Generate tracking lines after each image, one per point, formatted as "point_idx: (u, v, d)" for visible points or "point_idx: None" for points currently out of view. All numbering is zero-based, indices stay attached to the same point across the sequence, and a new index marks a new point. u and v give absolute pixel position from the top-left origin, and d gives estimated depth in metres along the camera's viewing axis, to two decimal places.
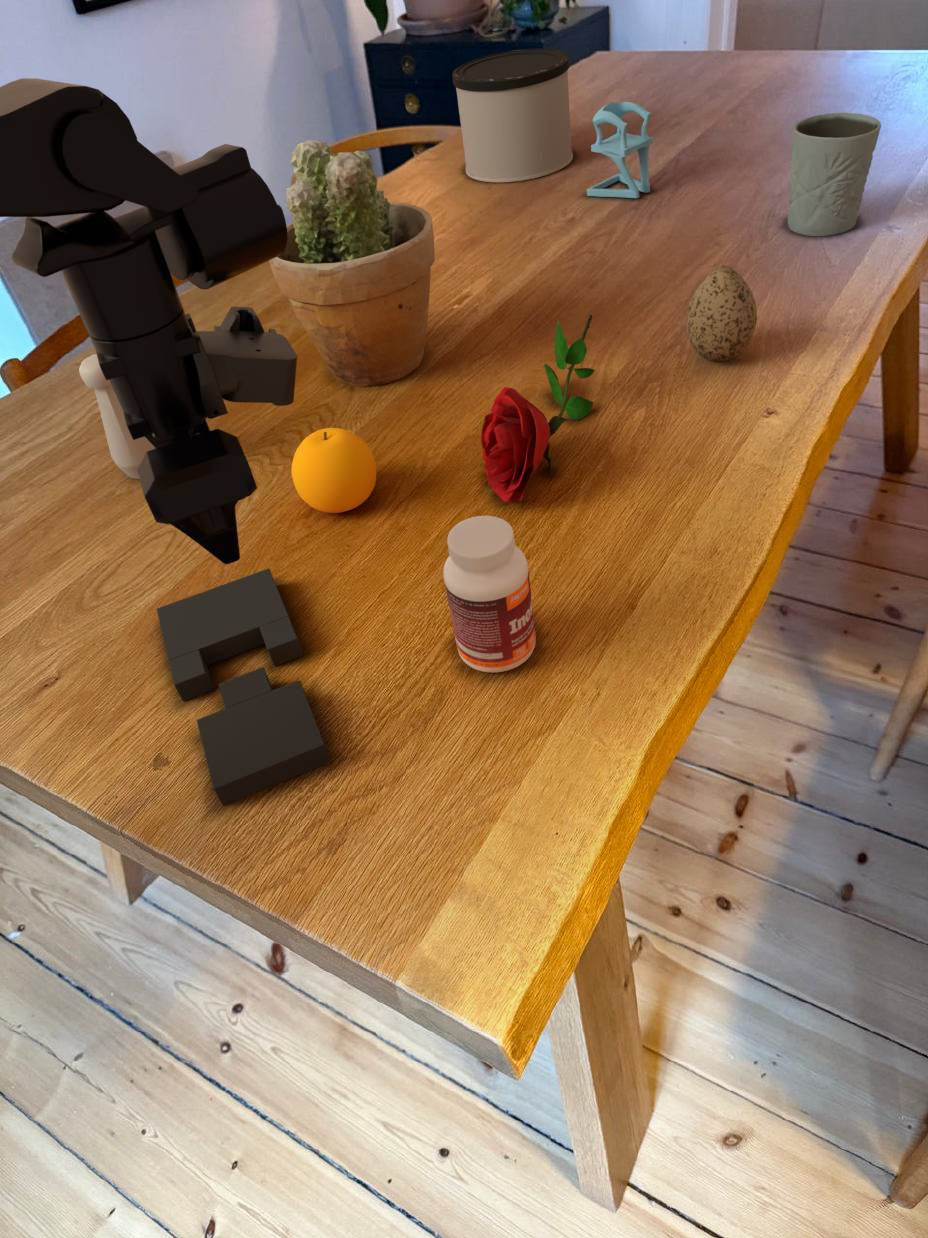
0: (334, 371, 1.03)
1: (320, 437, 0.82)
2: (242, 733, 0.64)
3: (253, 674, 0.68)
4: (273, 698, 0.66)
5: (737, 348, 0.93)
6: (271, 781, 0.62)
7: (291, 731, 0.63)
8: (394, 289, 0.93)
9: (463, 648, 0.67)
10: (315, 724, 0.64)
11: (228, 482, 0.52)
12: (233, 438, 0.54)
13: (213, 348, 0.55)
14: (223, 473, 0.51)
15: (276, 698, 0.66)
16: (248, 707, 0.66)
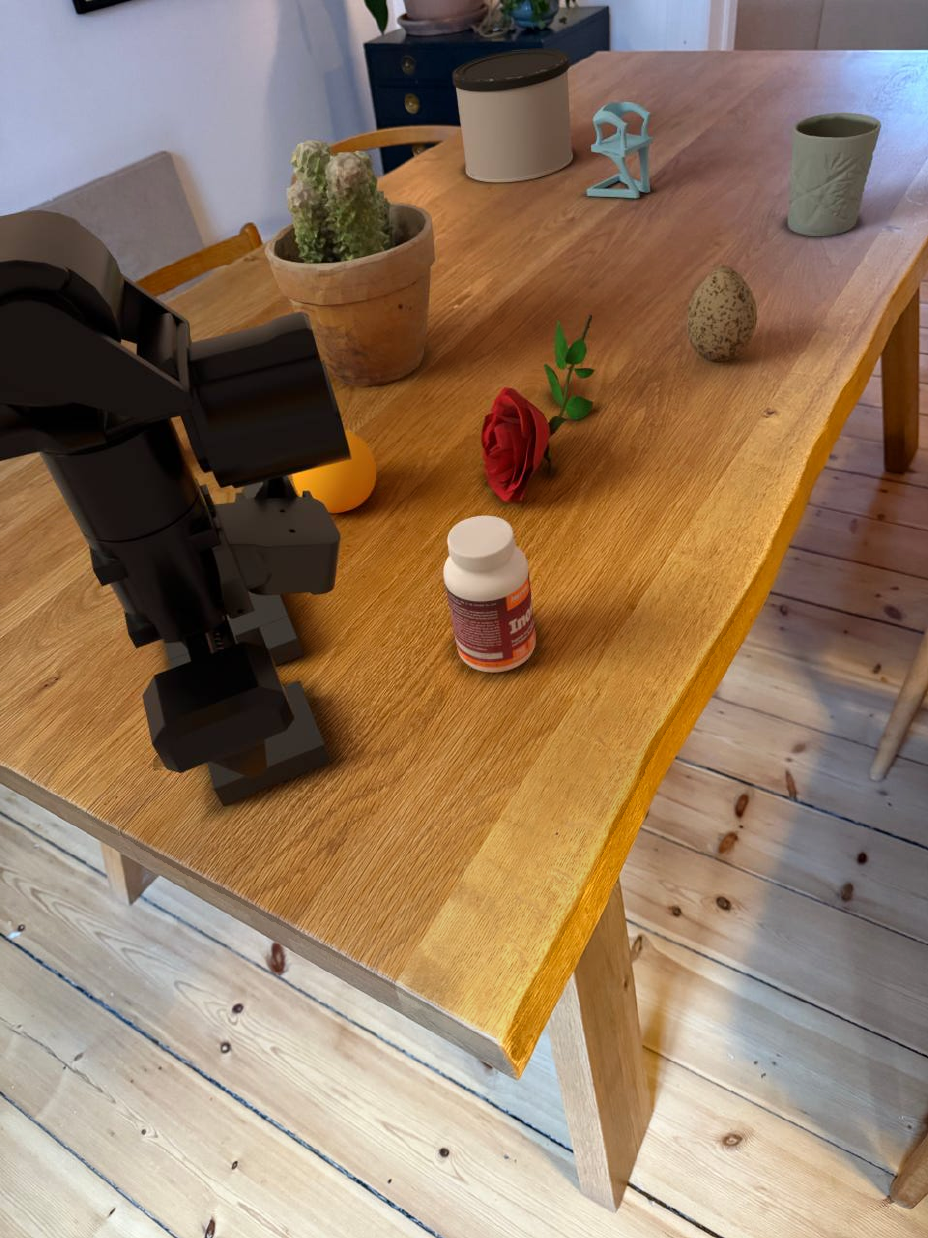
0: (334, 371, 1.03)
1: None
2: None
3: None
4: None
5: (737, 348, 0.93)
6: (271, 781, 0.62)
7: (291, 731, 0.63)
8: (394, 289, 0.93)
9: (463, 648, 0.67)
10: (315, 724, 0.64)
11: (259, 720, 0.40)
12: (263, 652, 0.43)
13: (236, 533, 0.44)
14: (253, 711, 0.40)
15: None
16: None
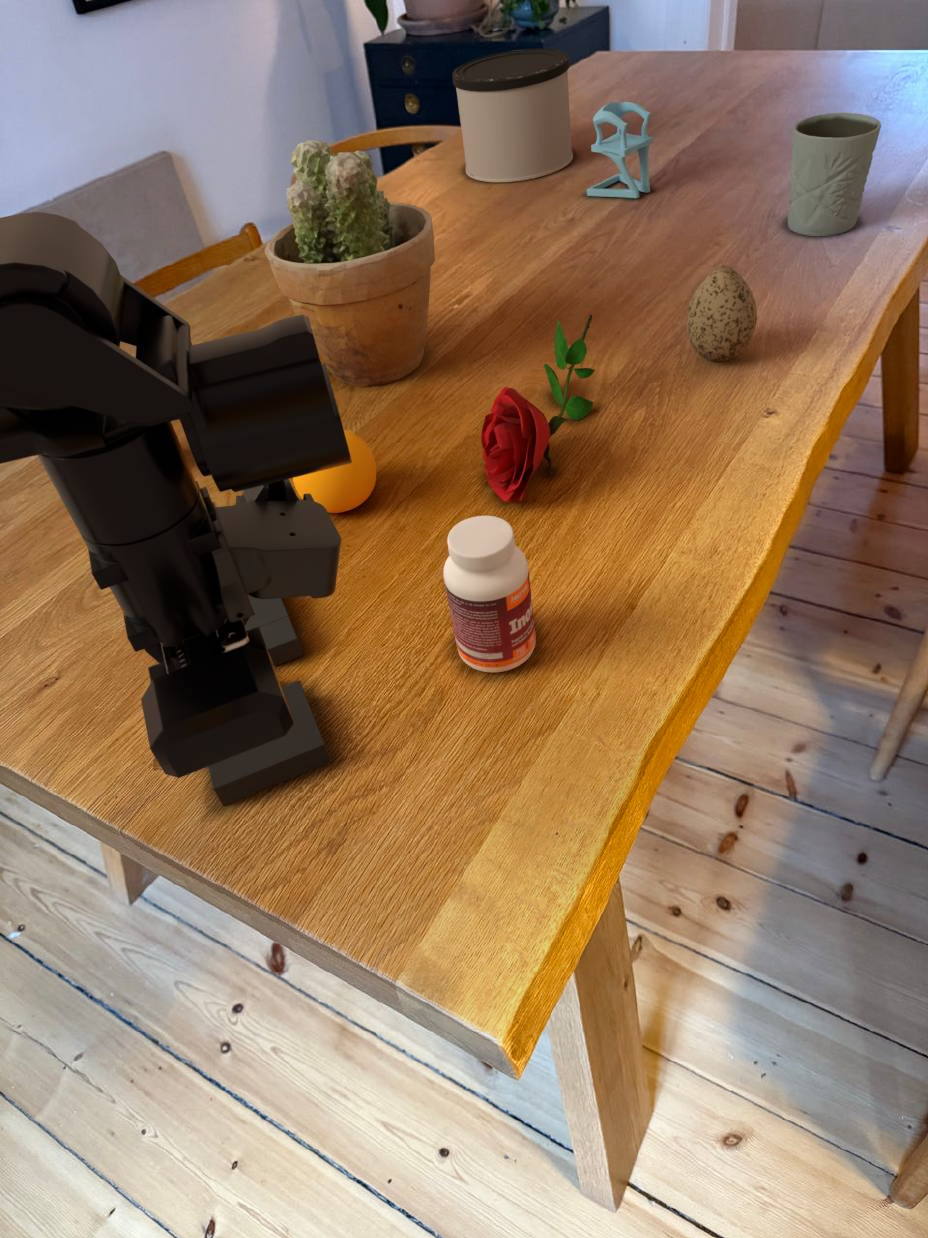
0: (334, 371, 1.03)
1: None
2: None
3: None
4: None
5: (737, 348, 0.93)
6: (271, 781, 0.62)
7: (291, 731, 0.63)
8: (394, 289, 0.93)
9: (463, 648, 0.67)
10: (315, 724, 0.64)
11: (258, 725, 0.40)
12: (263, 657, 0.42)
13: (236, 537, 0.44)
14: (252, 716, 0.40)
15: None
16: None
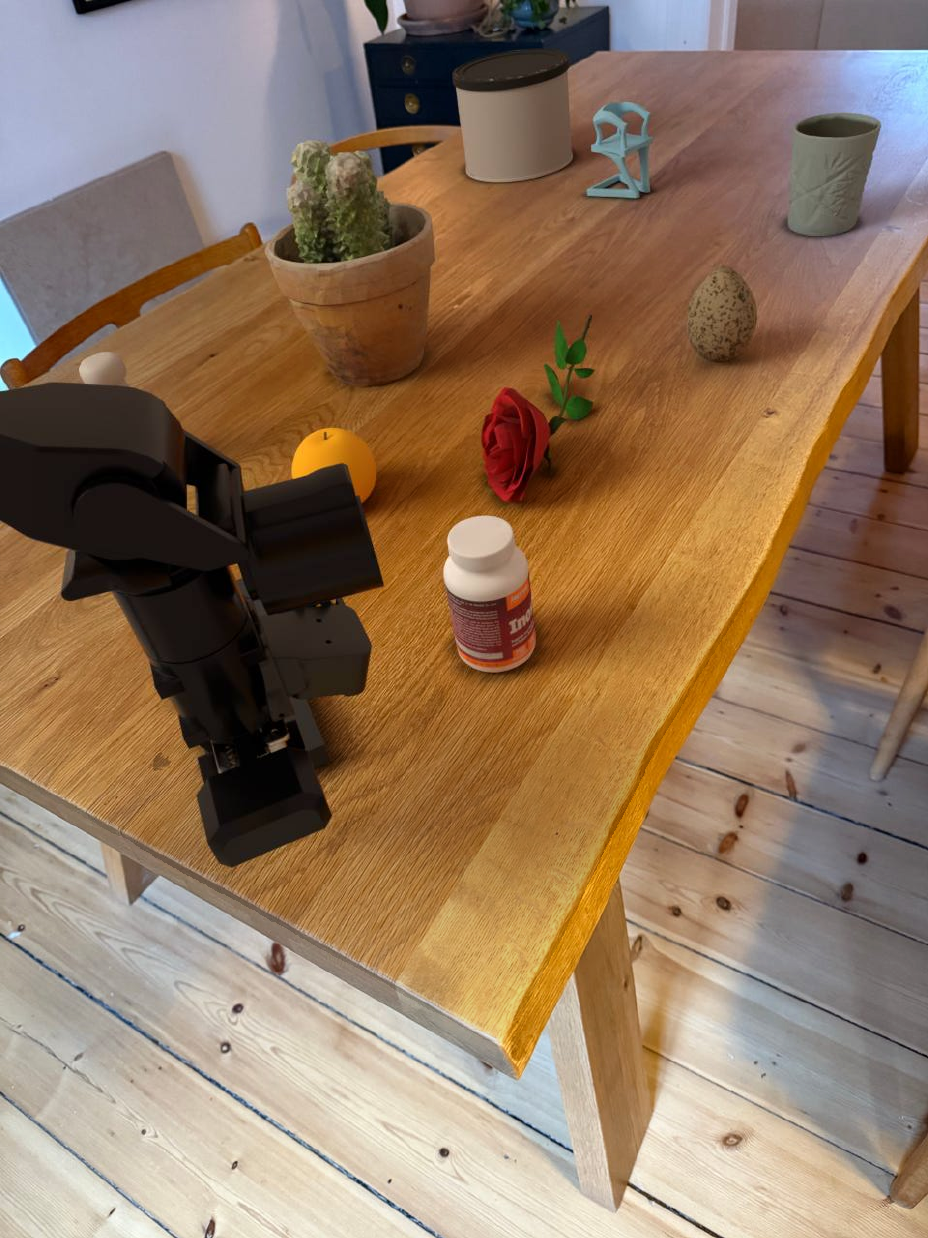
0: (334, 371, 1.03)
1: (320, 437, 0.82)
2: None
3: None
4: None
5: (737, 348, 0.93)
6: None
7: None
8: (394, 289, 0.93)
9: (463, 648, 0.67)
10: (315, 724, 0.64)
11: (302, 821, 0.45)
12: (304, 756, 0.48)
13: (279, 646, 0.49)
14: (297, 814, 0.45)
15: None
16: None
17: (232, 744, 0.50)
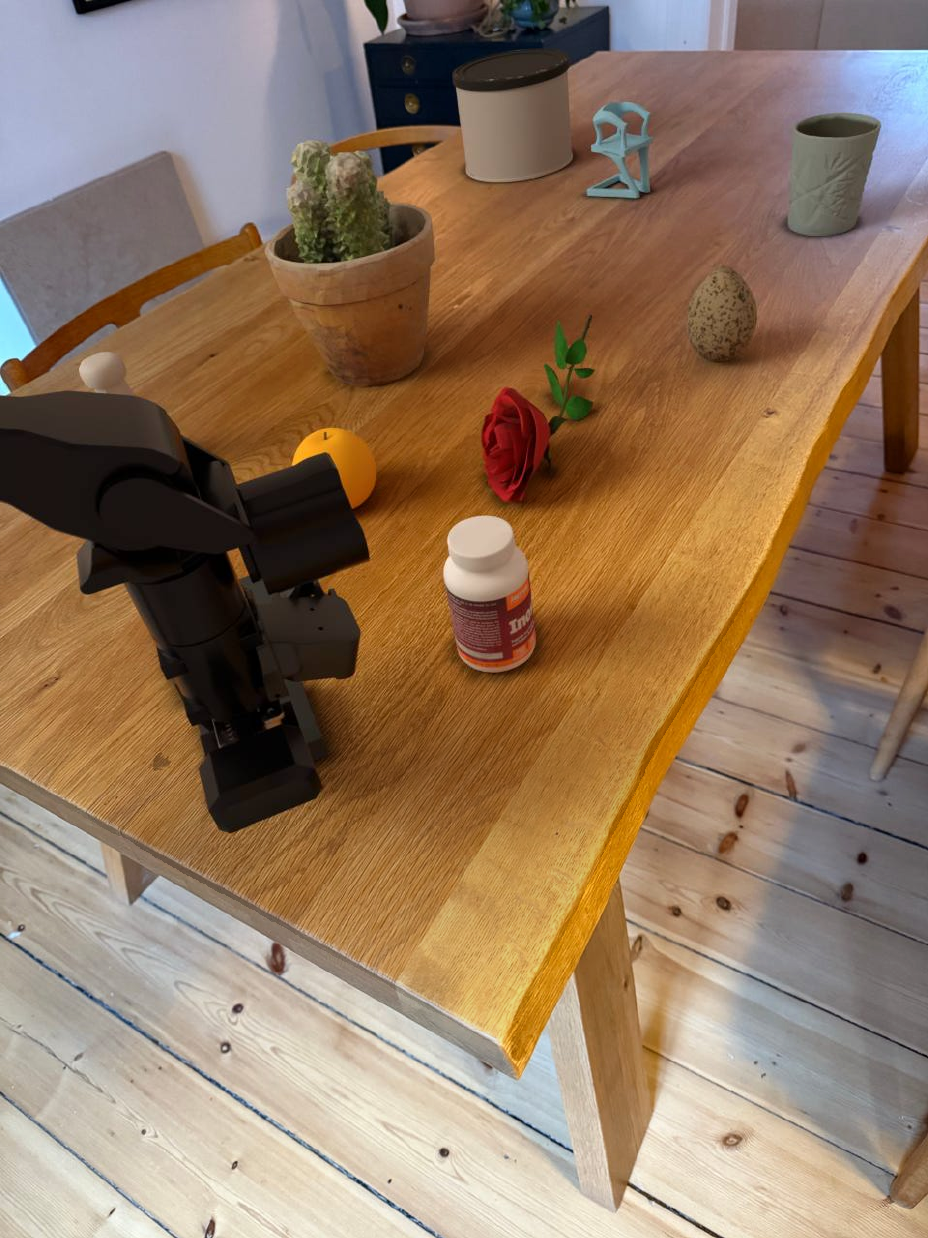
0: (334, 371, 1.03)
1: (320, 437, 0.82)
2: None
3: None
4: None
5: (737, 348, 0.93)
6: None
7: None
8: (394, 289, 0.93)
9: (463, 648, 0.67)
10: (313, 717, 0.64)
11: (294, 791, 0.50)
12: (297, 733, 0.52)
13: (275, 632, 0.53)
14: (290, 784, 0.49)
15: None
16: None
17: (232, 722, 0.55)
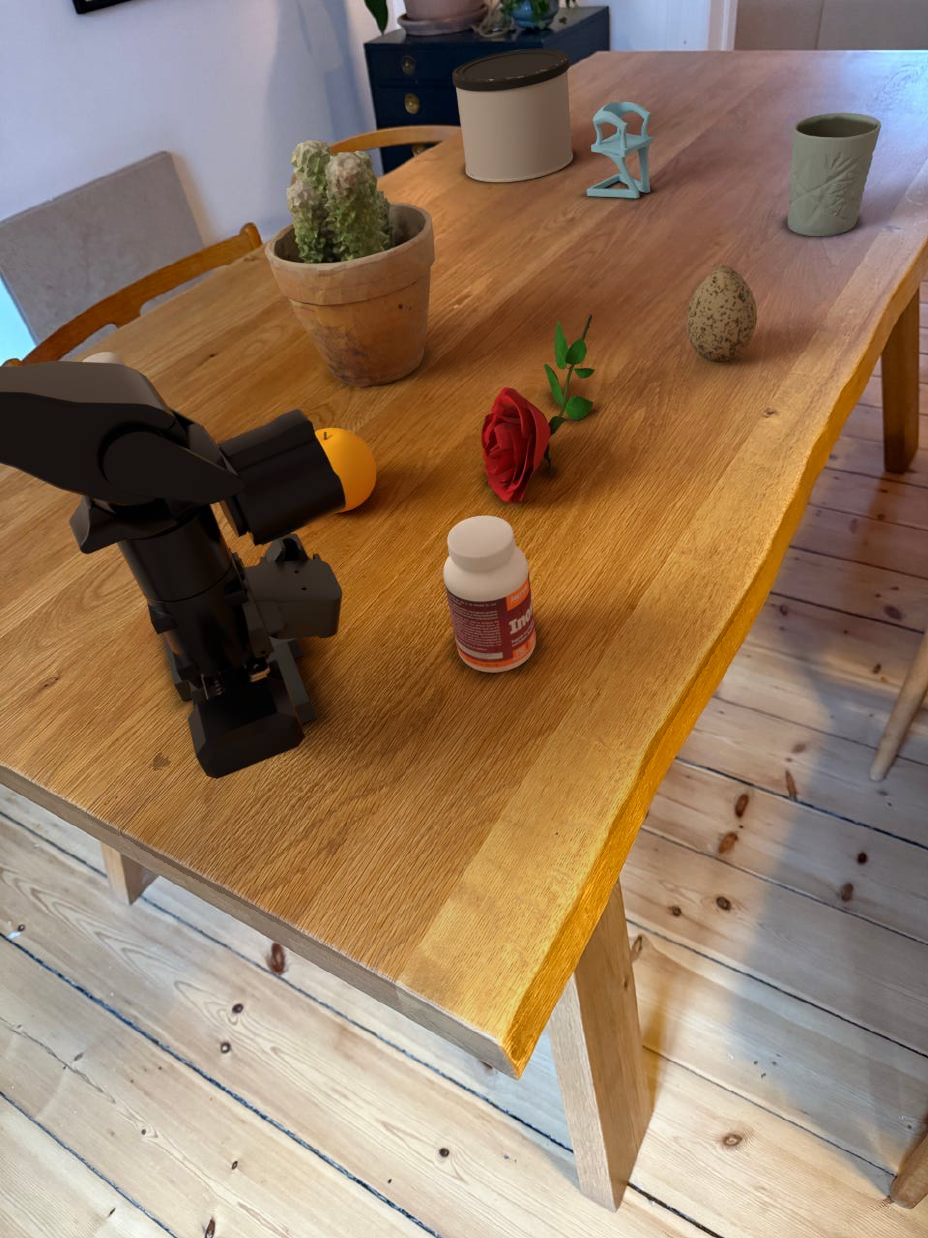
0: (334, 371, 1.03)
1: (320, 437, 0.82)
2: None
3: None
4: None
5: (737, 348, 0.93)
6: None
7: None
8: (394, 289, 0.93)
9: (463, 648, 0.67)
10: (301, 682, 0.67)
11: (277, 738, 0.52)
12: (281, 685, 0.55)
13: (260, 591, 0.56)
14: (273, 731, 0.52)
15: None
16: None
17: (220, 678, 0.58)
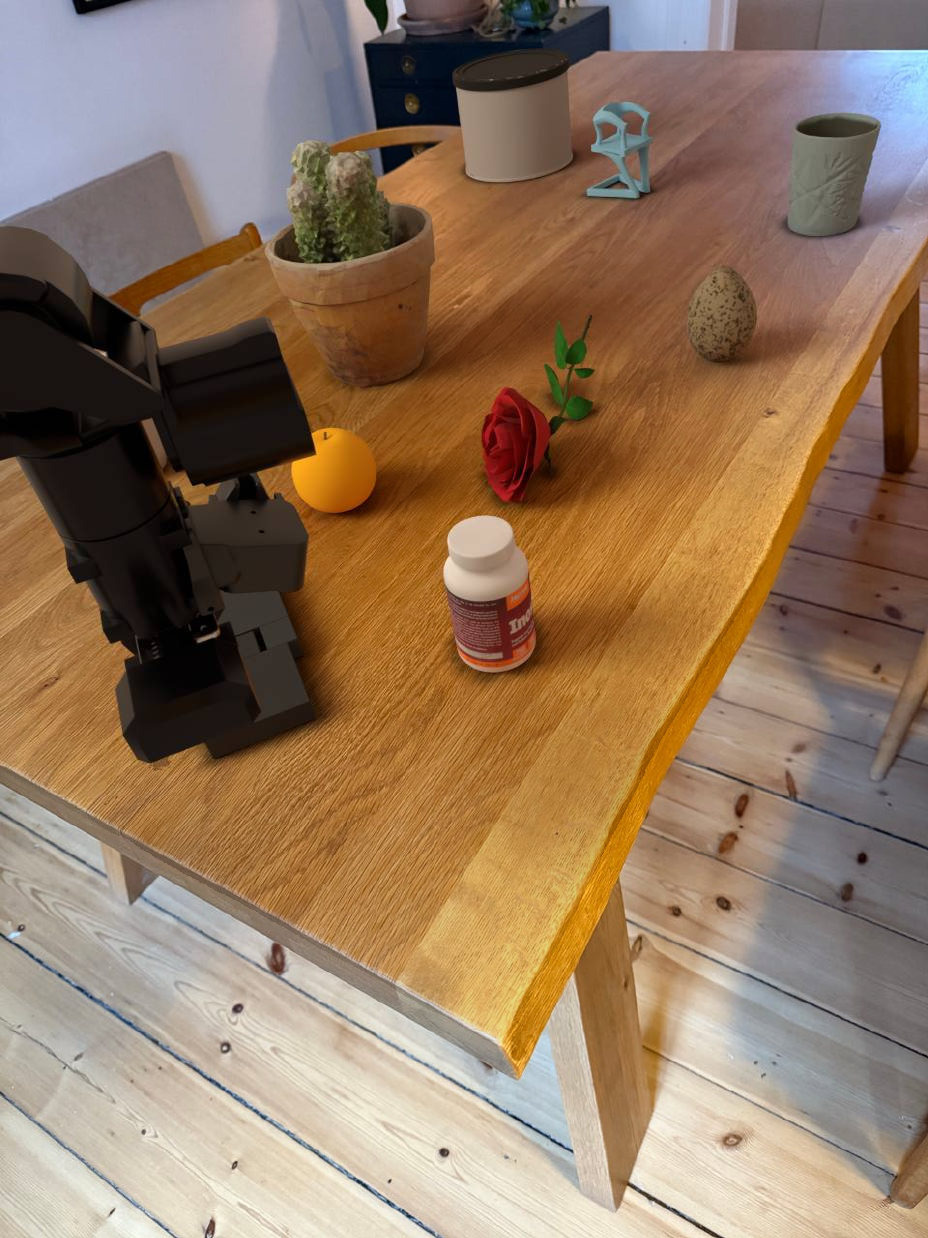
0: (334, 371, 1.03)
1: (320, 437, 0.82)
2: None
3: (243, 637, 0.71)
4: (262, 659, 0.69)
5: (737, 348, 0.93)
6: (259, 736, 0.65)
7: (278, 689, 0.67)
8: (394, 289, 0.93)
9: (463, 648, 0.67)
10: (301, 682, 0.67)
11: (226, 713, 0.42)
12: (232, 648, 0.44)
13: (207, 534, 0.46)
14: (220, 704, 0.42)
15: (264, 659, 0.69)
16: None
17: (159, 642, 0.47)
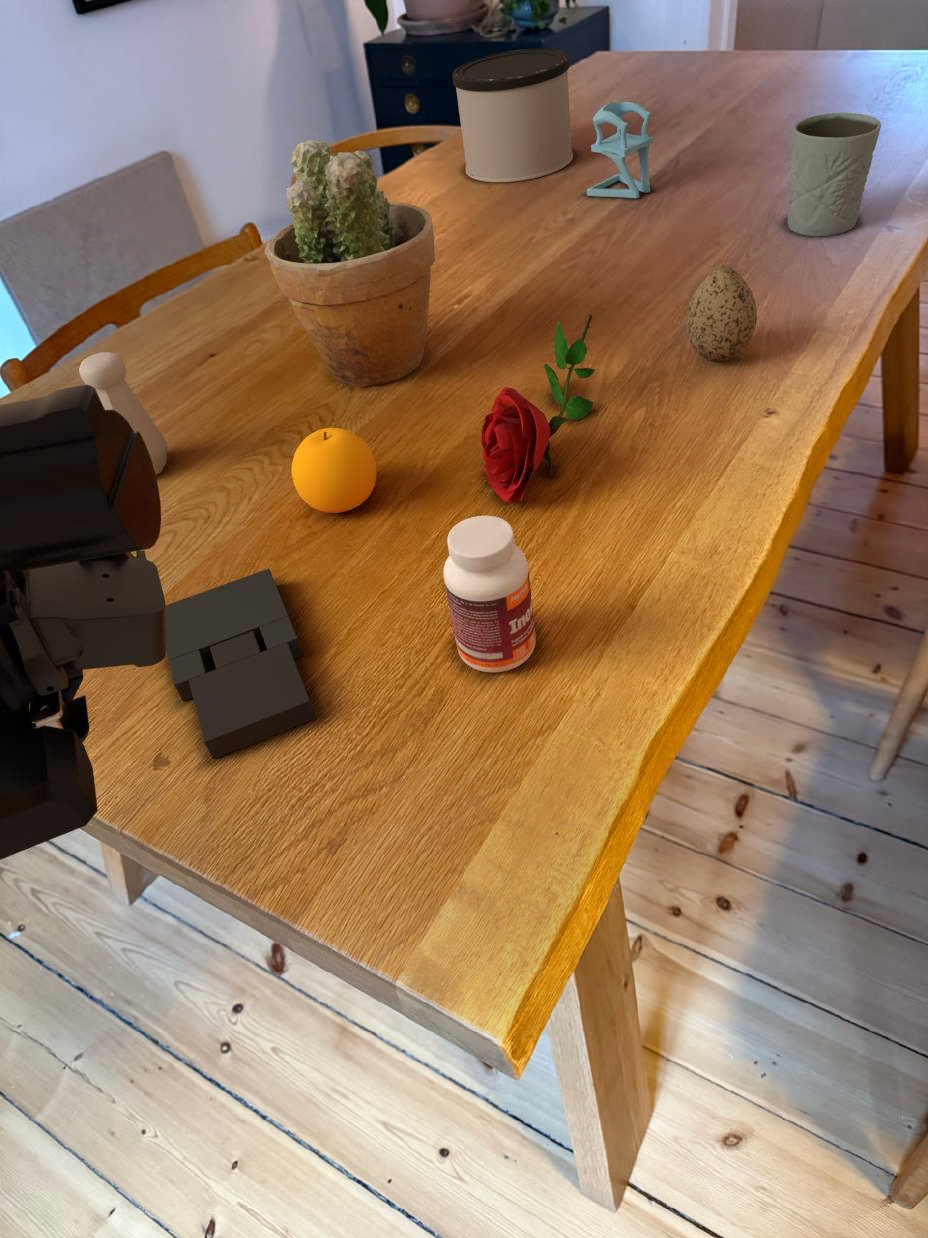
0: (334, 371, 1.03)
1: (320, 437, 0.82)
2: (232, 691, 0.67)
3: (243, 637, 0.71)
4: (262, 659, 0.69)
5: (737, 348, 0.93)
6: (259, 736, 0.65)
7: (278, 689, 0.67)
8: (394, 289, 0.93)
9: (463, 648, 0.67)
10: (301, 682, 0.67)
11: (50, 816, 0.37)
12: (66, 737, 0.39)
13: (44, 604, 0.40)
14: (41, 808, 0.36)
15: (264, 659, 0.69)
16: (237, 667, 0.69)
17: None
